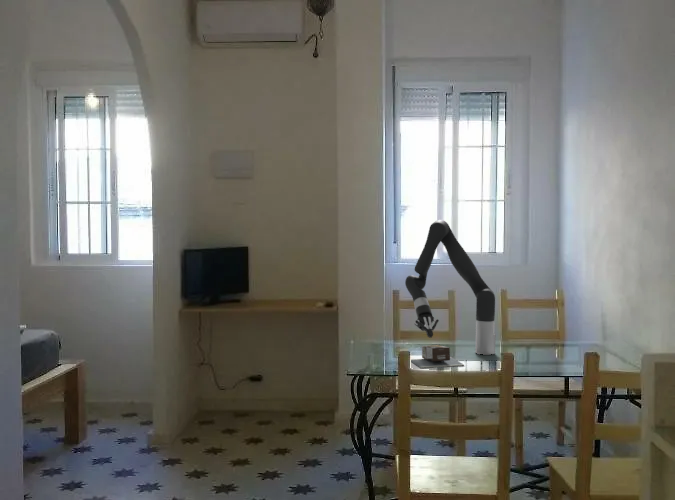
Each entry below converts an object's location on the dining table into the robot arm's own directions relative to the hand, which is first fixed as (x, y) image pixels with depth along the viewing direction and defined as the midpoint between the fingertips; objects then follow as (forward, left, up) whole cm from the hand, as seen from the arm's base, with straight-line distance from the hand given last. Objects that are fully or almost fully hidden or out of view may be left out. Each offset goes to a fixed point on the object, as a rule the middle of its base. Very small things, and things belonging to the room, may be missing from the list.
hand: (430, 336), depth 384 cm
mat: (+1, +11, -11) cm, 15 cm away
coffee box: (0, 0, -7) cm, 7 cm away
